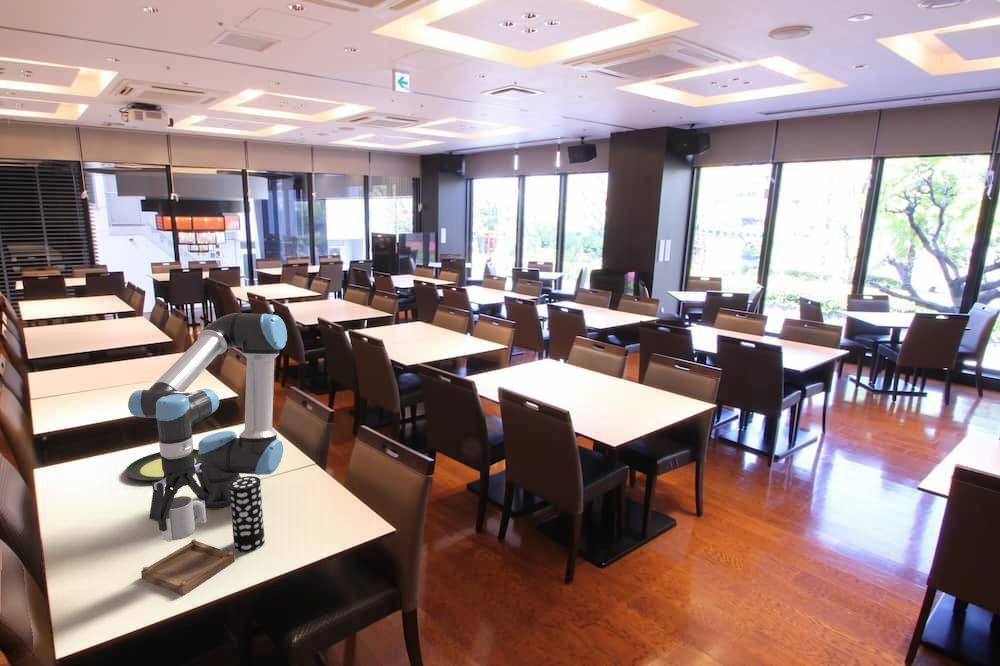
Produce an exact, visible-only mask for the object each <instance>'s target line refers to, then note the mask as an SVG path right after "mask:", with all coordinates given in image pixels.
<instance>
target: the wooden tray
mask: <svg viewBox="0 0 1000 666" xmlns="http://www.w3.org/2000/svg"><path fill="white" fill-rule="evenodd" d="M235 561H236V560H235V554H234V553H233V552H232V551H227V550H224V549H221V548H219V547H215V546H213V545H209V544H206V543H204V542H201V541H197V539H195V538H193V539H191V542H189V543H187V544H186V545H184V546H182V547H180V548H178V549H177V550H175V551H173V552H172V553H170V554H168V555H166V556H164V557H163V558H161V559H160V560H158V561H156V562H154V563H153V564H151V565H149V566H144V567H143V568H142V570H141V571H140V573H141V579H142V580H144V581H146V582H149V583H150V584H154V585H156V586H159V587H161V588H162V589H163V588H164V589H166V590H168V591H170V592H173V593H176V594H178V595H180V596H186V595H187V594H189V593H190V592H191V591H193V590H195V589H196V588H198V587H199V586H200V585H202V584H203V583H205V582H207V581H208V580H209V579H210V578H212V577H214V576H216V575H217V574H219V573H220V572H221V571H223V570H225V569H226V568H228V567H229V566H231V565H232V564H233V563H235Z"/></svg>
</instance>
